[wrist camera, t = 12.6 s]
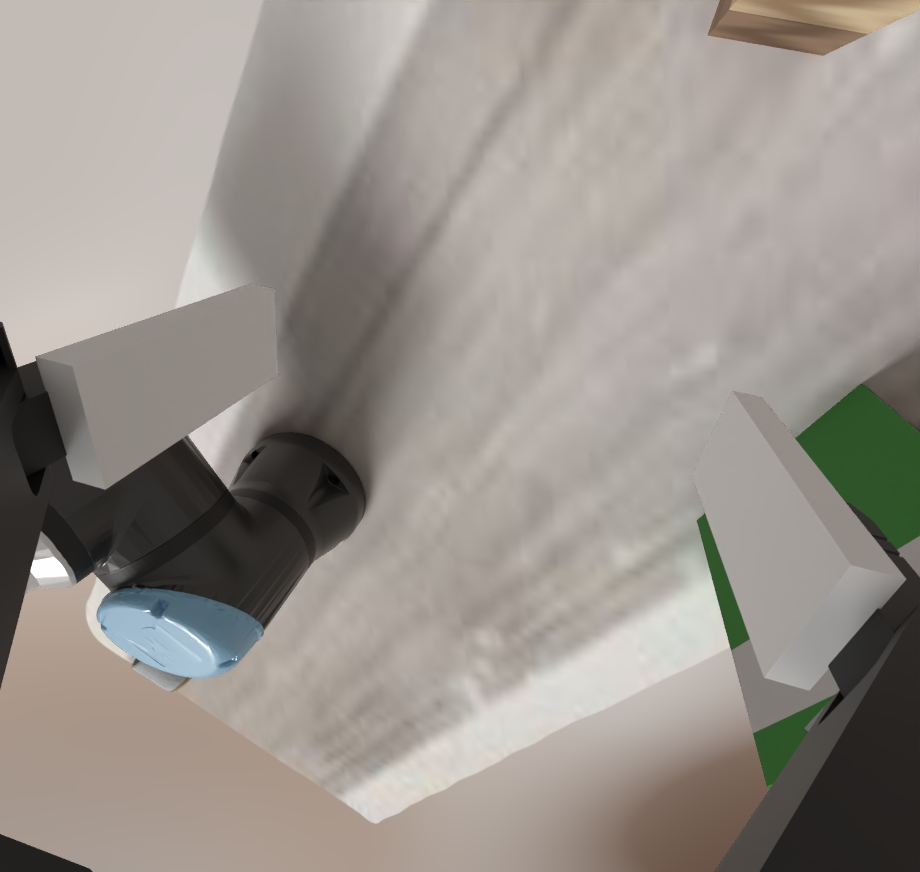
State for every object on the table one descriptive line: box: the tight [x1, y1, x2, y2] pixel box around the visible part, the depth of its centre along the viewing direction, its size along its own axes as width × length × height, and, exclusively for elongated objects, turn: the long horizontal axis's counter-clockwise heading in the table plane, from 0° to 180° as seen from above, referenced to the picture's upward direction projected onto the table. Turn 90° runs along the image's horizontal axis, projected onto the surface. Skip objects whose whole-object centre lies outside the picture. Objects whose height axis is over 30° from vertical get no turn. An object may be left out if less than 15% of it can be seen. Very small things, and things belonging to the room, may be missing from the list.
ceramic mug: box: [131, 659, 191, 692], centre depth 79 cm, size 11×8×8 cm
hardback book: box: [697, 384, 920, 788], centre depth 33 cm, size 18×7×24 cm, turn 151°
